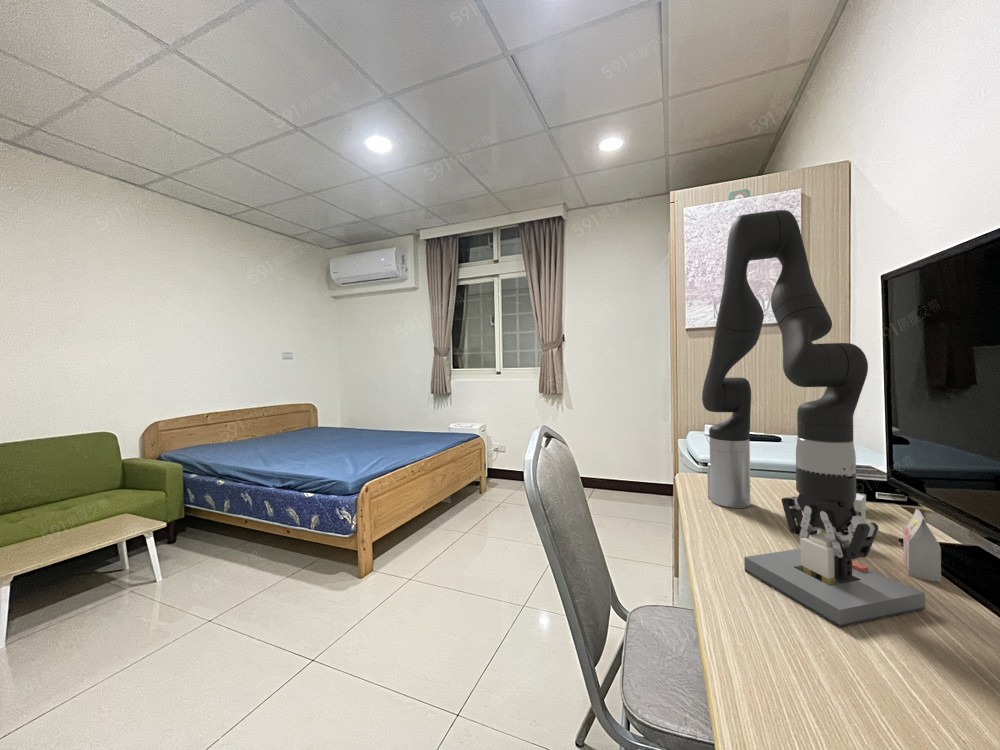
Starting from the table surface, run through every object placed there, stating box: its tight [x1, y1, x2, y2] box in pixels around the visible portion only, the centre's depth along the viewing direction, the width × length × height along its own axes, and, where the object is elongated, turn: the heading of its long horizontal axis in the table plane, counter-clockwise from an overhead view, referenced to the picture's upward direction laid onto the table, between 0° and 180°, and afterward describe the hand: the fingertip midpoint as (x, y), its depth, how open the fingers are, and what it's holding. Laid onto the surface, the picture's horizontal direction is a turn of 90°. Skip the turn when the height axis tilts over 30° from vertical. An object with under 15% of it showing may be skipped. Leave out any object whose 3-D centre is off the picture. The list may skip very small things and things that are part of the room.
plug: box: [800, 533, 843, 586], centre depth 64 cm, size 4×5×7 cm
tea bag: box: [902, 508, 942, 583], centre depth 69 cm, size 4×7×10 cm, turn 140°
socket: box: [743, 547, 926, 628], centre depth 64 cm, size 16×16×3 cm
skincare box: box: [850, 492, 867, 533], centre depth 88 cm, size 6×6×7 cm
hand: (825, 570), depth 64 cm, fingers closed on plug, 4 cm apart
